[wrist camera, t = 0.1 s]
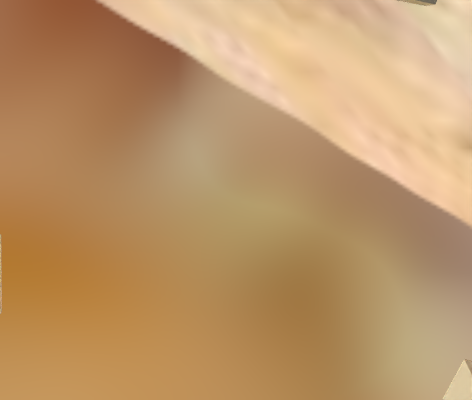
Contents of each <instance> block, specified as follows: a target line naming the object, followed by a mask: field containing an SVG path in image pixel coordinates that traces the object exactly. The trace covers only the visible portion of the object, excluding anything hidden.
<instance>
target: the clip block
mask: <svg viewBox="0 0 472 400" xmlns="http://www.w3.org/2000/svg"><path fill="white" fill-rule="evenodd" d="M399 1H404V2H409V3H414V4H419V5H424V6H427V5H435V4H436V2H437V0H399Z"/></svg>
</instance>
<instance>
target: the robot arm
mask: <svg viewBox="0 0 472 400" xmlns="http://www.w3.org/2000/svg"><path fill="white" fill-rule="evenodd" d="M1 291H2V285H1V234H0V313H1V312H2V298H1V297H2V292H1ZM442 400H472V361H470V360H467V359H464V361H463V362H462V364H461V366H460V368H459V370H458V371H457V373H456V375H455V377H454V379H453V381H452V383H451V384H450V387H449V388H448V390H447V392H446V394H445V396H444V397H443V399H442Z"/></svg>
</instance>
